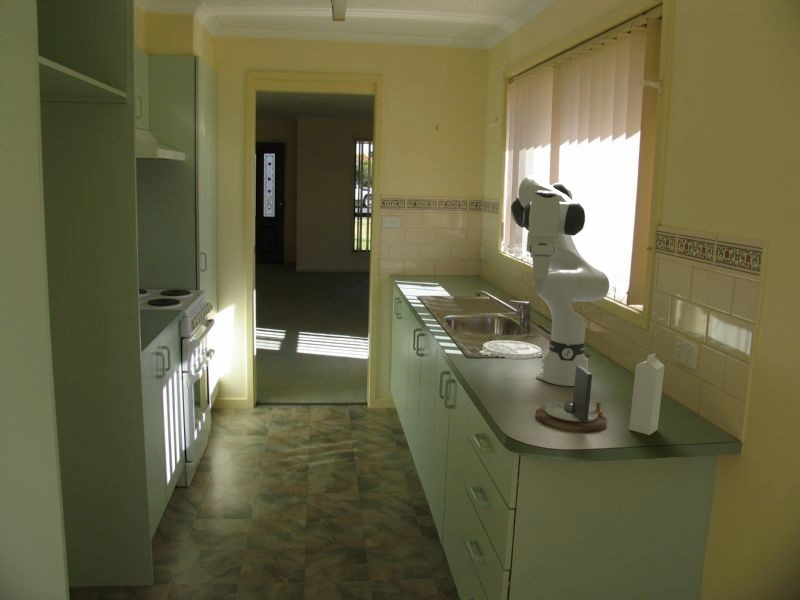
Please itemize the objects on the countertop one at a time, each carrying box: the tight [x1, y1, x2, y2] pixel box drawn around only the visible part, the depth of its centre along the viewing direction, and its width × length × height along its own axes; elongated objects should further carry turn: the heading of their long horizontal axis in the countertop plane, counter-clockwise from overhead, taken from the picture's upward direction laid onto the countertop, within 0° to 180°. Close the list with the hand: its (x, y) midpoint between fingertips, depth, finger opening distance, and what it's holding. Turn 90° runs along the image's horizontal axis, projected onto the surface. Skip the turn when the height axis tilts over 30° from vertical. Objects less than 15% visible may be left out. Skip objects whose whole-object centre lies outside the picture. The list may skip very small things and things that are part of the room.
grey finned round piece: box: [544, 365, 604, 423], centre depth 206 cm, size 18×17×15 cm
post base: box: [535, 401, 607, 433], centre depth 209 cm, size 20×20×5 cm
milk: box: [628, 352, 666, 436], centre depth 202 cm, size 6×6×22 cm
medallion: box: [479, 339, 543, 360], centre depth 288 cm, size 24×27×2 cm
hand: (538, 292), depth 215 cm, fingers closed
